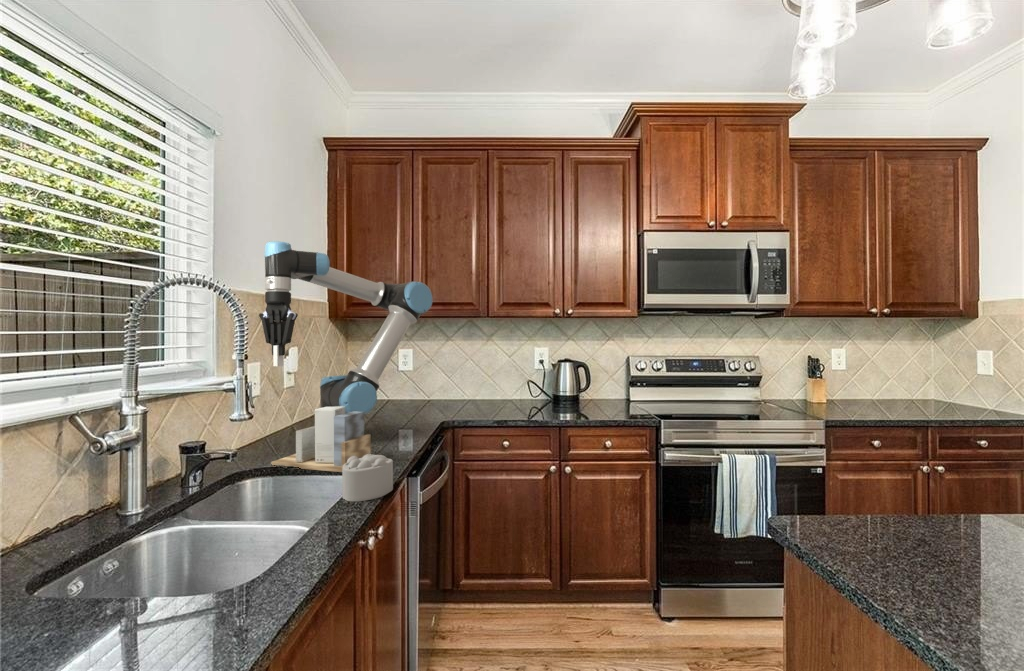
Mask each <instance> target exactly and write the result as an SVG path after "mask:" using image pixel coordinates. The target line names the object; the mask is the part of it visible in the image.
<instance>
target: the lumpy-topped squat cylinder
mask: <svg viewBox="0 0 1024 671" xmlns="http://www.w3.org/2000/svg"><path fill="white" fill-rule="evenodd" d="M341 474H342V477H341V478H342V479H341V480H342V482H341V483H342V484H341V485H342V489H341V490H342V499H343V500H344V499H345V500H344V501H347V502H363V501H370V500H374V499H379V498H381V497H384V496H386V495H388V494H389V493H391V492H392V491H393V490H394V461H393V459H392V458H388V457H386V456H385V455H383V454H367V455H364V456H363V457H362V458H358V457H356V456H352V457H350V458H349V459H348V460H347V463H345V464H344V465H343V468H342V472H341Z"/></svg>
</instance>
